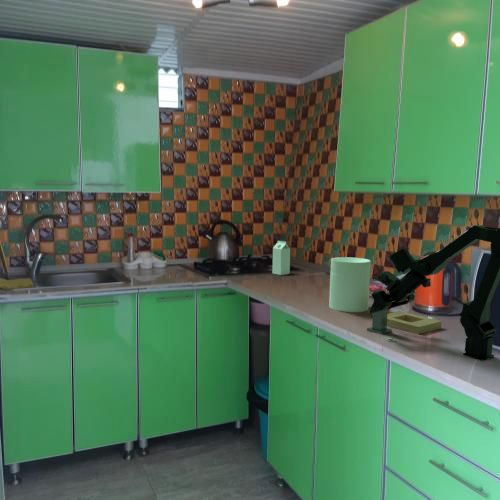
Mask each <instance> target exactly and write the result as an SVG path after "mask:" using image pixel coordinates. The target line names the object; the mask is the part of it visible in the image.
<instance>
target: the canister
mask: <svg viewBox="0 0 500 500" xmlns="http://www.w3.org/2000/svg"><path fill="white" fill-rule="evenodd" d="M371 265H372V264H371V259H367V258H361V257H351V256H350V257H347V256H340V257H339V256H338V257H332V258H330V273H329V274H330V277H329V278H330V279H329V302H328V303H329V304H328V306H329V308H330V309H331V310H334V311H339V312H343V313H344V312H347V313H362V312H366V311H369V305H370V304H369V302H370V285H371V282H370V281H371V280H370V279H371Z"/></svg>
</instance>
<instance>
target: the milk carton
mask: <svg viewBox="0 0 500 500" xmlns="http://www.w3.org/2000/svg"><path fill="white" fill-rule="evenodd" d="M271 269H272V270H271V271H272V272H271V273H272V274H274V275H278V276H282V275H283V276H284V275H290V274H291V273H290V272H291V271H290V269H291V247H289V245H288V244H287V241H283V240H277V242H276V243H275V245H273V247H272V268H271Z"/></svg>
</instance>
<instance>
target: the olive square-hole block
mask: <svg viewBox="0 0 500 500" xmlns="http://www.w3.org/2000/svg"><path fill="white" fill-rule="evenodd" d="M442 323H443V321H442V320H439V319H434V318H431V317H425V316H423V315H422V316H421V315H418V314H413V313H409V312H406V311H401V310H398V311H394V312H388V313H387V327H391V328H394V329H399V330H401V331H405V332H408V333H413V334H416V335H420V333H421V334H424V333H428V332H431V331H435V330H439V329H442V325H443V324H442Z"/></svg>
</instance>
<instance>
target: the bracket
mask: <svg viewBox="0 0 500 500" xmlns="http://www.w3.org/2000/svg"><path fill="white" fill-rule="evenodd" d="M386 294H387V295H389V292H386ZM387 313H389V312H388V308H387V309H385V310H382V311H378V312H375V313H372V325H371V326H370V327H367V328H366V331H367V332H370V333H375V334H378V333H379V335H384V334H389V333H392V331H393V330H392V328H388V326H387Z"/></svg>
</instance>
